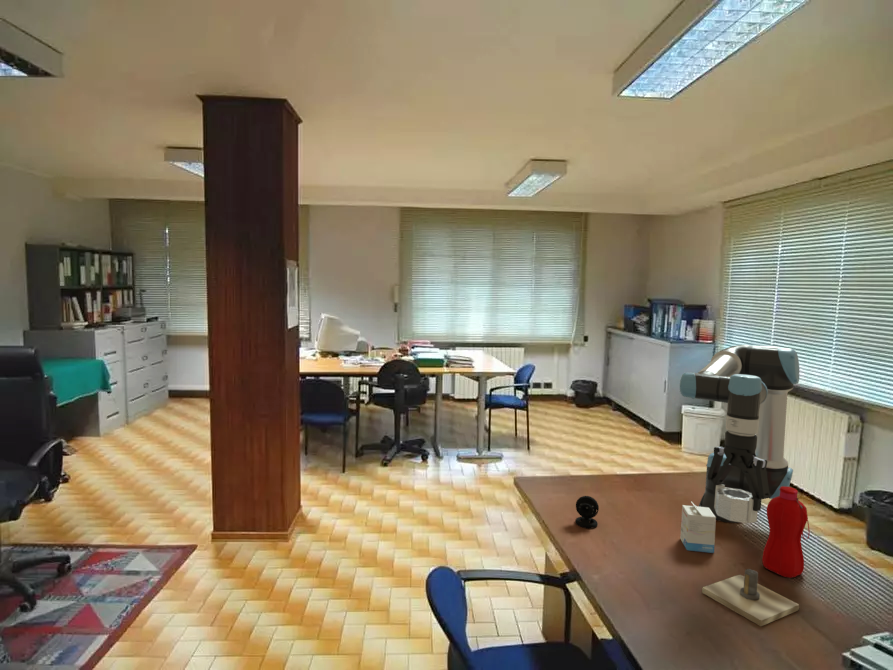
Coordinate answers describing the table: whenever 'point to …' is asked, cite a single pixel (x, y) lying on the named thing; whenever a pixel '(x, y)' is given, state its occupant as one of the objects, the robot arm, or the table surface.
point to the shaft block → (750, 598)
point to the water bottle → (785, 534)
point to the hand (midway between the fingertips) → (734, 514)
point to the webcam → (587, 512)
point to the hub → (732, 504)
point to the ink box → (698, 528)
